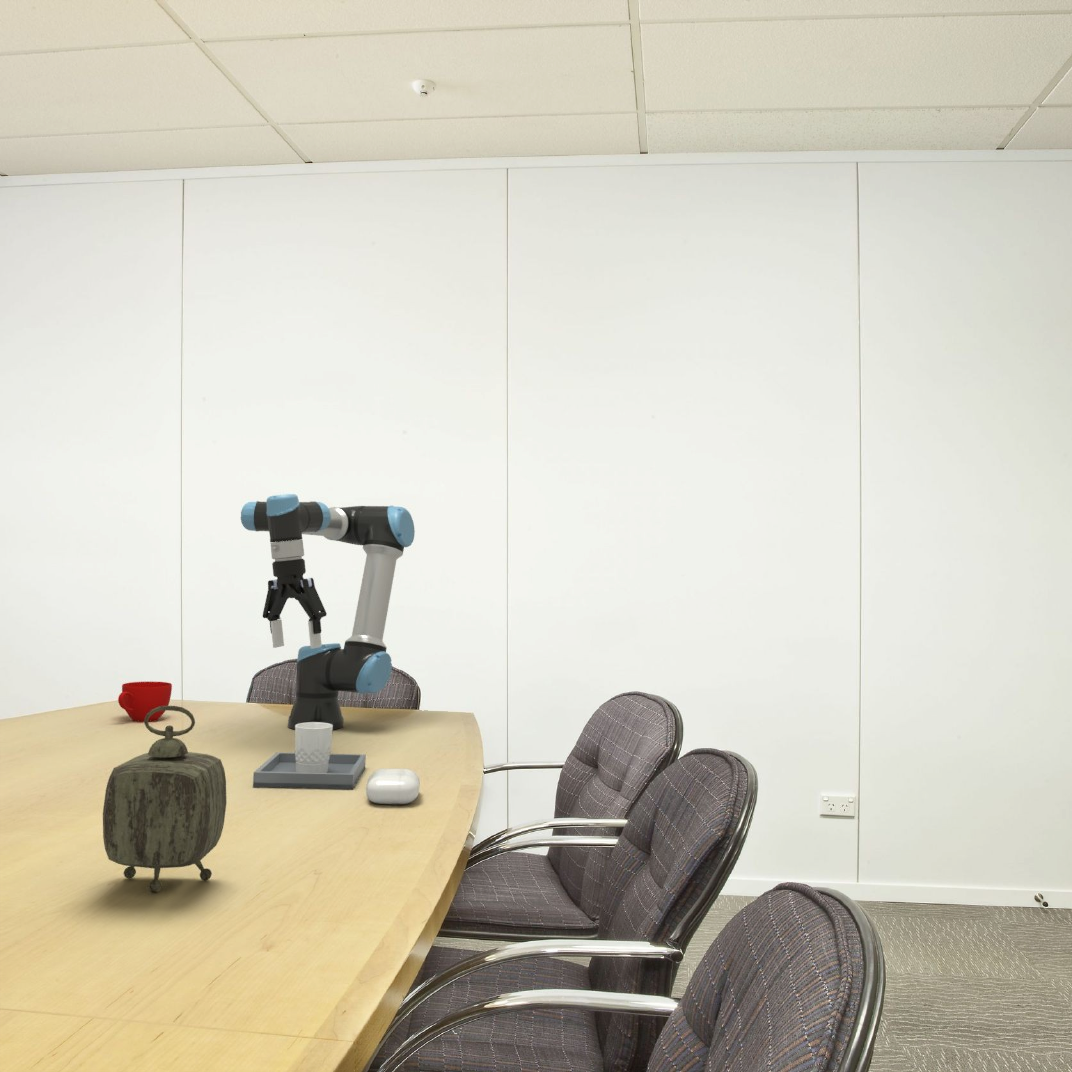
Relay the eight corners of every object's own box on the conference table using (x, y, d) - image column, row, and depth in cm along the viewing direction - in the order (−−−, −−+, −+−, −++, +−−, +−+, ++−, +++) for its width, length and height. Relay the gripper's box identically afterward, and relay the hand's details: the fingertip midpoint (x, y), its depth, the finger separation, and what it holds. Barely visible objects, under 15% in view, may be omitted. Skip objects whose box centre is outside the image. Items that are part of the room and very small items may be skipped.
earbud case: (363, 808, 169) (364, 779, 169) (369, 791, 182) (370, 764, 182) (417, 808, 170) (419, 780, 170) (419, 791, 183) (420, 765, 183)
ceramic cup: (98, 723, 243) (100, 686, 243) (142, 714, 259) (144, 680, 259) (137, 727, 239) (139, 690, 239) (180, 718, 255) (182, 683, 256)
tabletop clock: (222, 876, 129) (231, 703, 130) (201, 900, 120) (211, 713, 121) (121, 874, 128) (130, 699, 129) (92, 897, 119) (102, 709, 120)
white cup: (320, 777, 186) (323, 729, 187) (286, 774, 188) (288, 726, 188) (336, 769, 194) (338, 723, 194) (303, 766, 196) (305, 721, 196)
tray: (252, 787, 180) (253, 772, 180) (275, 765, 200) (276, 752, 200) (352, 789, 182) (353, 774, 182) (365, 767, 201) (365, 754, 202)
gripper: (242, 562, 217) (251, 649, 217) (311, 558, 202) (320, 650, 203) (267, 559, 223) (276, 643, 224) (335, 555, 209) (344, 645, 209)
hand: (297, 647), depth 213 cm, fingers open, 13 cm apart
